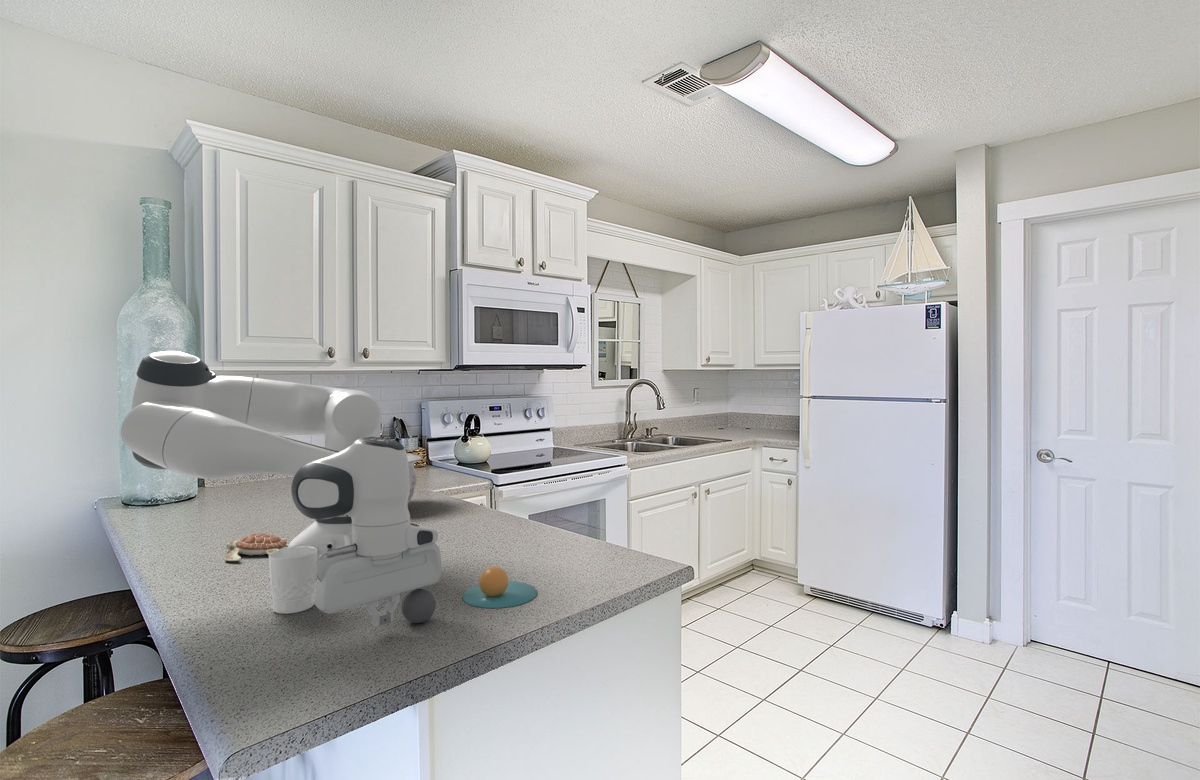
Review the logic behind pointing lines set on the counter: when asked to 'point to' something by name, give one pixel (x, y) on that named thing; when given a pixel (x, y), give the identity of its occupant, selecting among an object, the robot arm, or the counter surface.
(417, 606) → the dark gray ball
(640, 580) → the counter surface
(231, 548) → the decorative turtle
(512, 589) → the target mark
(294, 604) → the white cup
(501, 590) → the object ball
